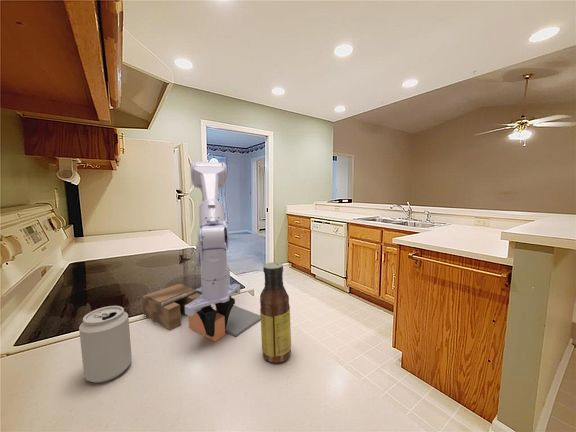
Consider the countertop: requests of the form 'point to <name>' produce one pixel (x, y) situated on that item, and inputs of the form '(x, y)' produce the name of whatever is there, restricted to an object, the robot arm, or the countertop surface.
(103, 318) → the can
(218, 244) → the robot arm
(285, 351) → the sauce bottle
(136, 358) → the countertop surface
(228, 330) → the mat
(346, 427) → the countertop surface
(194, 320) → the orange clay brick
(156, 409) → the countertop surface
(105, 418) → the countertop surface
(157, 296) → the brown wooden stand
